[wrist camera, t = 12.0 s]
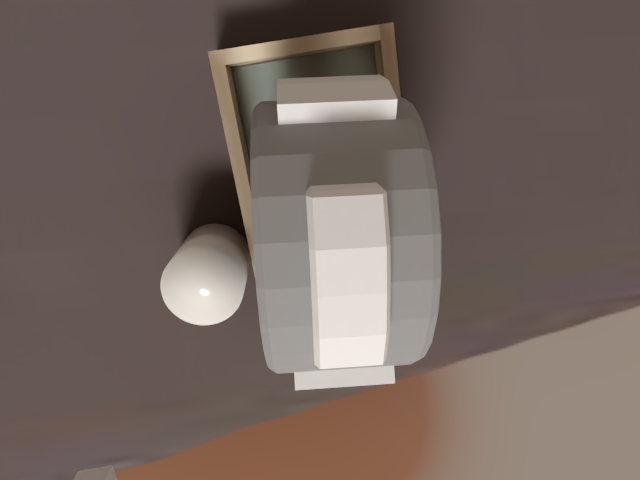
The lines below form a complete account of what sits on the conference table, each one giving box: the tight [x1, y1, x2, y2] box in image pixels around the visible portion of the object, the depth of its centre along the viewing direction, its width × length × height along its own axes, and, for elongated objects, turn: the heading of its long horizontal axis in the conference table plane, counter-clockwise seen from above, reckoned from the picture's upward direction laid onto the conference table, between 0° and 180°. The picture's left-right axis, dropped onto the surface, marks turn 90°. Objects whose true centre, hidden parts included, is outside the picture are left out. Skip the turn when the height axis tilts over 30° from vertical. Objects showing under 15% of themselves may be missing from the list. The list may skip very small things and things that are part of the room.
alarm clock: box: [250, 75, 442, 390], centre depth 30 cm, size 18×8×20 cm, turn 2°
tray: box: [208, 22, 401, 275], centre depth 38 cm, size 13×24×4 cm, turn 9°
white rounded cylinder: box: [160, 224, 251, 325], centre depth 38 cm, size 6×6×7 cm
